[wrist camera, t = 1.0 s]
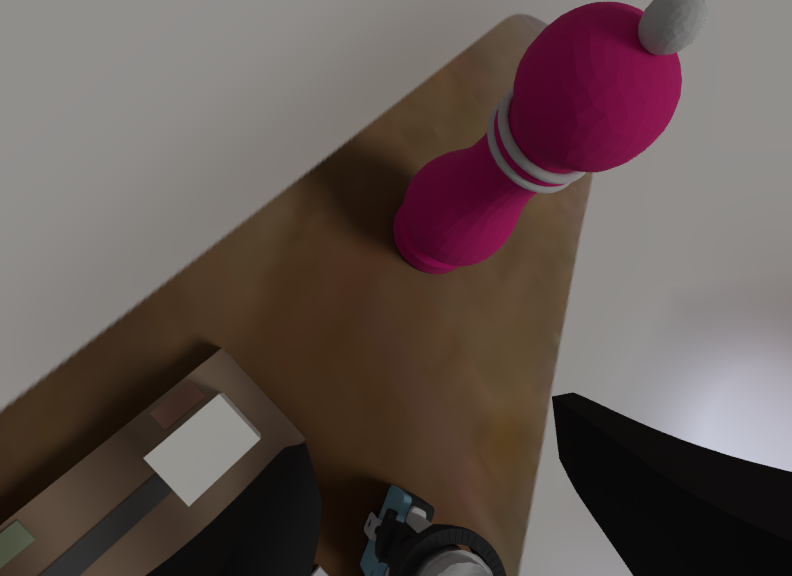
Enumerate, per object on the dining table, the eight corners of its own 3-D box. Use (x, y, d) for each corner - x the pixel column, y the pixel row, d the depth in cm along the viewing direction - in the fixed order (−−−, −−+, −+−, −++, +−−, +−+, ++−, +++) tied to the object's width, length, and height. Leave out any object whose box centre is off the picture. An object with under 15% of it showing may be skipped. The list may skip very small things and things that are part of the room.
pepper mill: (417, 297, 29) (699, 141, 10) (367, 211, 29) (553, -95, 10) (490, 256, 31) (818, 72, 13) (444, 177, 32) (699, -113, 13)
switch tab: (197, 492, 20) (188, 506, 18) (156, 449, 20) (143, 458, 18) (260, 433, 22) (260, 439, 20) (223, 392, 22) (219, 393, 20)
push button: (398, 615, 24) (485, 764, 14) (318, 584, 23) (356, 720, 14) (440, 500, 26) (538, 564, 17) (368, 467, 25) (430, 516, 16)
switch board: (31, 703, 18) (11, 731, 17) (-78, 592, 18) (-108, 611, 16) (303, 435, 24) (305, 438, 23) (224, 349, 24) (222, 347, 23)
